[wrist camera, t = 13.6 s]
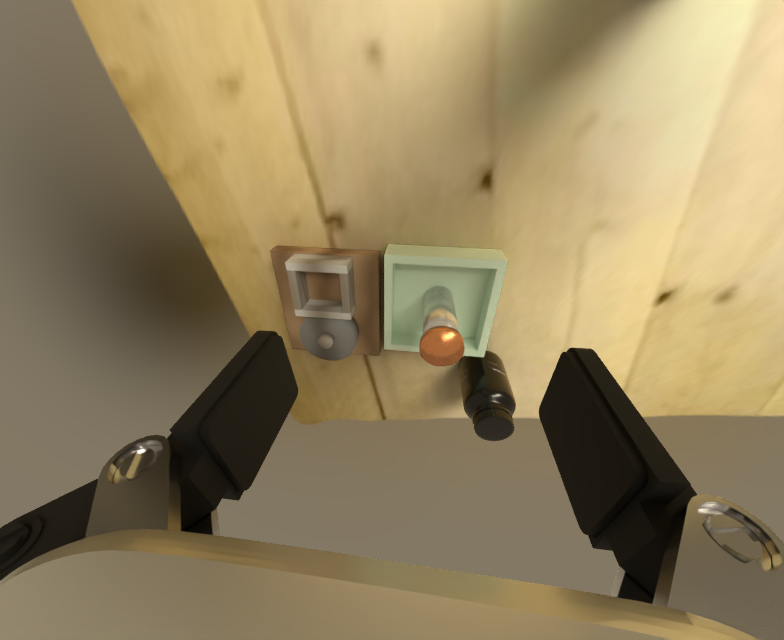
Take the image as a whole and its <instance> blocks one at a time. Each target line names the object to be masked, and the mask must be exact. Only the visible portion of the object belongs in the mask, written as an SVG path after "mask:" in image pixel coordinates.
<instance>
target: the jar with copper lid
mask: <svg viewBox="0 0 784 640" xmlns="http://www.w3.org/2000/svg"><path fill="white" fill-rule="evenodd" d="M419 350H420V354H421V356H422V358H423V359H424V360H425V361H426V362H428V363H430V364H432V365H435V366H448V365H452V364H454V363H456V362H457V361H459V360H460V359H461V357H462V356H463V354H464V350H465V347H464V341H463V337H462V335H461V334H460V333H459V329H458V323H457V317H456V311H455V305H454V299H453V294H452V292H451V291H450V290H449V289H448V288H446V287H444V286H434V287H431V288H430V289H428V290H427V291H426V293H425V295H424V302H423V335H422V336H421V338H420V347H419Z"/></svg>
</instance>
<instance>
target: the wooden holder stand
mask: <svg viewBox="0 0 784 640" xmlns="http://www.w3.org/2000/svg"><path fill="white" fill-rule="evenodd" d="M270 252H271V257H272V261H273V265H274V270H275V274H276V279H277V283H278V288H279V292H280V297H281V301H282V306H283V310H284V314H285V319H286V323H287V328H288V332H289V337H290V341H291V346H292V349H303V350H308V351H309V352H311V353H312V354H313V355H315V356H317V357H319V358H322V359H326V360H340V359H343V358H345V357H347V356H349V355H350V354H363V355H375V356H379V355H380V351H381V251H370V250H350V249H331V248H312V247H293V246H276V247H275V248H273V249H272V250H270Z"/></svg>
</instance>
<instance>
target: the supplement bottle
mask: <svg viewBox="0 0 784 640" xmlns="http://www.w3.org/2000/svg"><path fill="white" fill-rule="evenodd" d="M459 372H460V381H461V389H462V398H463V406H464V410H465V412H466V414H467V415H468V417H469V418H471V419H472V420H473V424H474V429H475V432H476V434H477V435H478V436H479V437H481V438H482V439H484V440H489V441H499V440H503V439H506V438H508V437H509V436H510V435H511V434H512V433H513V431H514V424H513V419H512V415H513V413H514V411H515V407H516V403H515V399H514V396H513V392H512V389H511V386H510V383H509V380H508V377H507V374H506V371H505V368H504V365H503V362H502V360H501V359H500V358H499V357H498V356H497V355H496V354H494V353H492V352H489V351H485V355H484V357H474V356H465V357H464V358H463V359H462V361H461V363H460V366H459Z"/></svg>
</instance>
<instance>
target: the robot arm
mask: <svg viewBox="0 0 784 640" xmlns="http://www.w3.org/2000/svg"><path fill="white" fill-rule="evenodd" d="M297 394H298V387H297V384H296V381H295V378H294V374H293V371H292V368H291V365H290V362H289V358H288V355H287V352H286V349H285V345H284V342H283V339H282V337H281V336H278V334H277V333H276V332H274V331H257V332H256V333H255V334H254V335H253V336H252V337H251V338H250V340H249V341H248V342H247V343H246V344H245V345H244V347H243V348H242V349H241V350H240V351H239V352H238V353H237V354H236V355H235V356H234V358H233V359H232V360H231V361H230V362H229V363H228V364H227V366H226V367H225V368H224V369H223V370H222V371H221V372H220V373H219V375H218V376H217V377H216V378H215V379H214V380H213V381H212V382H211V384H210V385H209V386H208V387H207V388H206V389H205V390H204V392H203V393H202V394H201V395H200V396H199V397H198V398H197V399H196V401H195V402H194V403H193V404H192V405H191V406H190V407H189V408H188V410H187V411H186V412H185V413H184V414H183V415H182V416H181V418H180V419H179V420H178V421H177V422H176V423H175V424H174V425H173V427H172V428H171V429H170V431H171V432H172V433H171V434H170V436H169V437H168V438H166V437H164V436H161V435H151V436H146V437H143V438H140V439H137V440H136V441H134V442H131V443H129V444H128V445H126V446H125V447H123V448H122V449H120V450H119V451H118V452H117V453H115V454H114V456H112V457H111V458H110V459H109V460H108V462H107V463H106V464H105V466H104V467H103V468H102V470H101V473H100V475H99V478H98V479H96V480H94V481H92V482H90V483H88V484H86V485H84V486H82V487H80V488H78V489H76V490H74V491H72V492H69V493H67V494H65V495H63V496H61V497H59V498H57V499H55V500H53V501H51V502H49V503H47V504H45V505H43V506H41V507H39V508H37V509H35V510H33V511H31V512H29V513H27V514H24V515H23V516H20V517H19V518H17V519H15V520H13V521H11V522H10V523H8V524H6V525H4V526H3V527H1V528H0V640H784V543H783V542H782V541H781V540H780V539H779V537H778V536H777V535H776V534H775V533H774V532H773V531H772V530H771V529H770V528H769V527H768V526H767V525H766V524H764V523H763V522H762V521H761V520H760V519H758V518H757V517H756V516H755V515H753V514H751V513H750V512H749V511H747V510H745V509H744V508H742V507H741V506H739V505H737V504H735V503H733V502H731V501H729V500H726V499H724V498H721V497H717V496H714V495H706V494H699V495H697V494H696V492H695V491H694V490H693V488H692V487H691V484H690V483H689V481H688V480H687V479H686V477H685V476H684V474H683V473H682V472H681V470H680V469H679V468H678V466H677V465H676V463H675V462H674V461H673V459H672V458H671V457H670V455H669V454H668V452H667V451H666V449H665V448H664V447H663V446H662V444H661V443H660V441H659V440H658V439H657V437H656V436H655V434H654V433H653V432H652V430H651V429H650V427H649V426H648V425H647V423H646V422H645V420H644V419H643V418H642V416H641V415H640V413H639V412H638V411H637V409H636V408H635V407H634V405H633V404H632V402H631V401H630V400H629V398H628V397H627V395H626V394H625V393H624V391H623V390H622V389H621V387H620V386H619V384H618V383H617V382H616V380H615V379H614V377H613V376H612V375H611V373H610V372H609V371H608V369H607V368H606V366H605V365H604V364H603V362H602V361H601V359H600V358H599V357H598V355H597V354H596V353H595V351H594V350H592V349H585V348H570V349H568V351H567V352H563V353H562V354H561V356H560V358H559V361H558V363H557V366H556V368H555V371H554V373H553V375H552V378H551V380H550V383H549V385H548V388H547V390H546V393H545V395H544V398H543V400H542V402H541V405H540V408H539V417H540V420H541V423H542V425H543V428H544V431H545V434H546V436H547V439H548V442H549V445H550V447H551V450H552V453H553V456H554V459H555V461H556V464H557V467H558V470H559V472H560V475H561V478H562V480H563V483H564V486H565V489H566V491H567V494H568V497H569V500H570V502H571V505H572V508H573V511H574V513H575V516H576V519H577V522H578V524H579V527H580V529H581V530H582V532H583V533H584V534H586V535H588V536H589V539H590V542H591V544H592V547H593V548H596V549H604V550H612V551H613V552H614V555H615V557H616V559H617V562H618V564H619V569H618V572H617V575H616V578H615V581H614V584H613V587H612V590H611V593H610V596H606V595H600V594H595V593H589V592H583V591H577V590H572V589H566V588H560V587H554V586H548V585H541V584H535V583H528V582H522V581H516V580H509V579H503V578H497V577H490V576H484V575H478V574H471V573H465V572H458V571H452V570H446V569H439V568H432V567H425V566H419V565H413V564H406V563H400V562H393V561H387V560H380V559H373V558H367V557H359V556H353V555H347V554H340V553H334V552H327V551H320V550H314V549H307V548H300V547H293V546H286V545H279V544H272V543H266V542H259V541H252V540H245V539H238V538H232V537H224V536H220V531H219V522H218V513H217V506H218V504H219V503H220V501H221V499H222V498H225V499H232V500H239V499H240V497H241V495H242V493H243V492H244V490H247V489H249V487H250V486H251V485H252V483H253V481H254V479H255V477H256V475H257V473H258V471H259V469H260V467H261V465H262V463H263V461H264V460H265V457H266V456H267V454H268V452H269V450H270V448H271V446H272V444H273V442H274V440H275V438H276V436H277V434H278V433H279V431H280V429H281V427H282V425H283V423H284V421H285V419H286V417H287V415H288V413H289V411H290V409H291V407H292V405H293V404H294V402H295V400H296V398H297Z"/></svg>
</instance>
